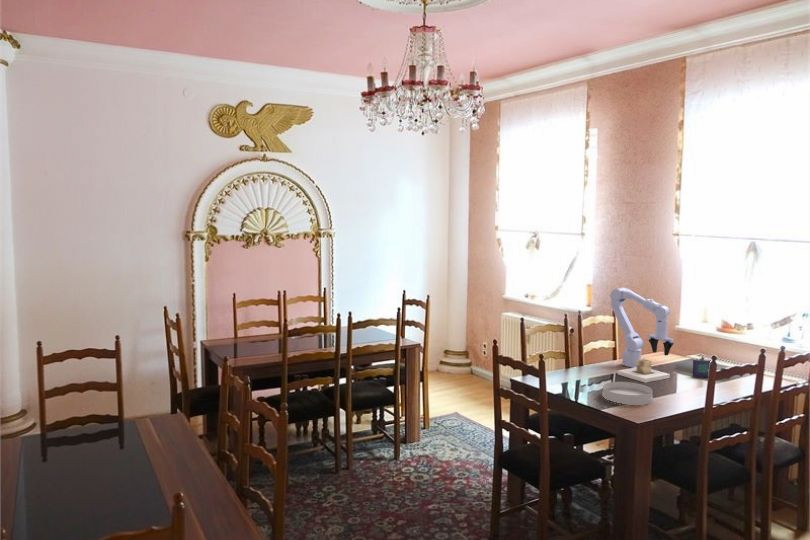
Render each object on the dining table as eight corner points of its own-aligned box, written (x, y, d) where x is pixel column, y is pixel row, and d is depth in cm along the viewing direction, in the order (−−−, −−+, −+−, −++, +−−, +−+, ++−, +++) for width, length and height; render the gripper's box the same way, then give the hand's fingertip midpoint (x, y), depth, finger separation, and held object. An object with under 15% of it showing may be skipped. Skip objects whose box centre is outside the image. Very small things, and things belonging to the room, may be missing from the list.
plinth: (617, 374, 337) (617, 370, 336) (641, 370, 345) (641, 366, 345) (645, 382, 321) (645, 378, 321) (669, 378, 329) (669, 373, 329)
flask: (709, 375, 334) (710, 355, 332) (712, 377, 331) (713, 357, 329) (691, 375, 334) (692, 355, 333) (693, 377, 331) (694, 356, 330)
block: (636, 371, 334) (636, 360, 333) (643, 370, 336) (643, 359, 336) (644, 373, 330) (644, 362, 329) (651, 372, 332) (651, 361, 331)
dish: (612, 389, 311) (613, 379, 310) (659, 397, 297) (659, 387, 296) (594, 399, 294) (594, 389, 293) (642, 409, 280) (643, 398, 279)
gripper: (645, 327, 345) (644, 351, 347) (667, 331, 333) (666, 357, 334) (654, 325, 349) (653, 350, 350) (676, 330, 336) (675, 355, 337)
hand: (660, 353), depth 342 cm, fingers open, 7 cm apart
